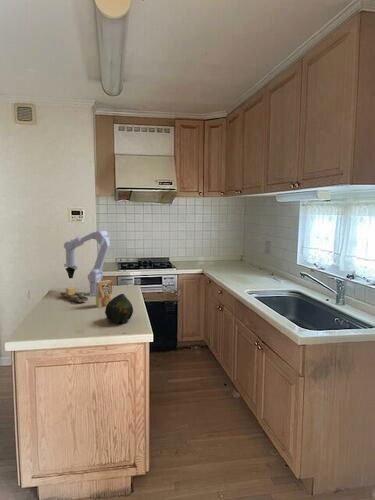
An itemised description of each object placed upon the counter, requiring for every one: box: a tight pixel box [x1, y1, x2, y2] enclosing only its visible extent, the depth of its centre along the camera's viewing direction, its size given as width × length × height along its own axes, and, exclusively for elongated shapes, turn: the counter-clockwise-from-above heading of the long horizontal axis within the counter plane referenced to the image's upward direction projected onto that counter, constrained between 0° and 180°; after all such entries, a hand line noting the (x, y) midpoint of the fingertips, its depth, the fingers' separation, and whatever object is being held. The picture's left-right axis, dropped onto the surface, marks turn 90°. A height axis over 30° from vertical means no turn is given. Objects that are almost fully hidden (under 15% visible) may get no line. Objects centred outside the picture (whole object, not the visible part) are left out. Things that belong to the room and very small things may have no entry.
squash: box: [104, 293, 134, 324], centre depth 197 cm, size 14×15×15 cm
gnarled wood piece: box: [59, 291, 89, 303], centre depth 237 cm, size 24×7×6 cm, turn 46°
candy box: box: [95, 279, 113, 309], centre depth 223 cm, size 9×4×15 cm, turn 129°
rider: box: [65, 286, 75, 295], centre depth 240 cm, size 4×4×4 cm
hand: (70, 278), depth 256 cm, fingers closed
